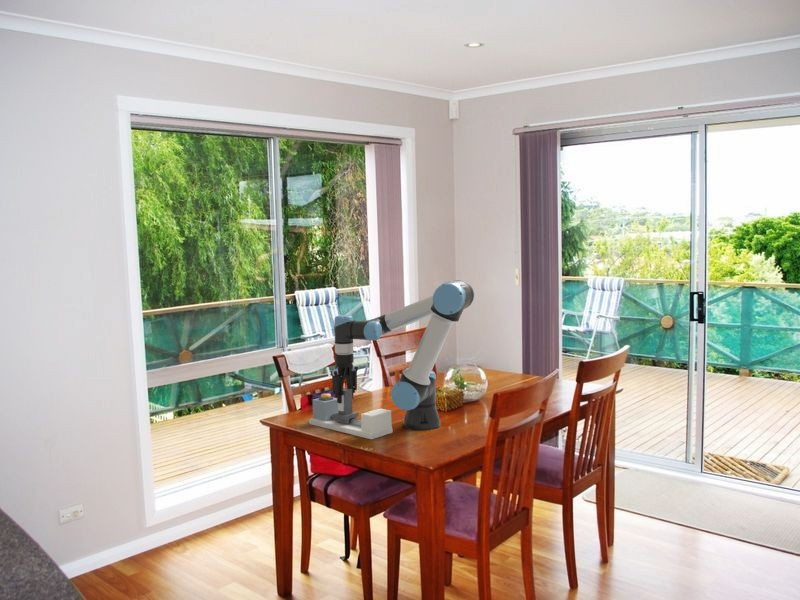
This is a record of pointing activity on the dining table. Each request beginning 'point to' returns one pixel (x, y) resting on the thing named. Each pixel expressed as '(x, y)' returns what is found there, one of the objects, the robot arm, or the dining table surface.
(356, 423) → the rail bar
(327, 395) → the button
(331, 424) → the rail track
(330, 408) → the gauge cabinet
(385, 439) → the dining table surface
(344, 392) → the carriage
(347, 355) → the robot arm
